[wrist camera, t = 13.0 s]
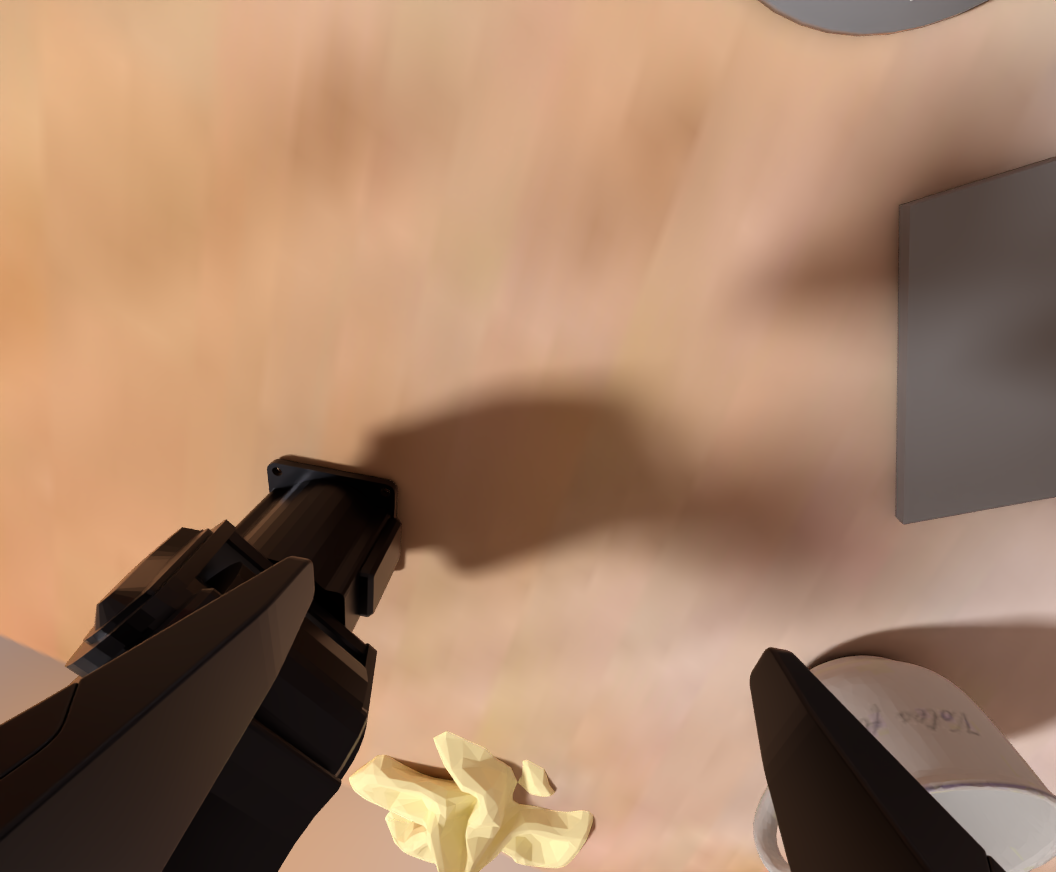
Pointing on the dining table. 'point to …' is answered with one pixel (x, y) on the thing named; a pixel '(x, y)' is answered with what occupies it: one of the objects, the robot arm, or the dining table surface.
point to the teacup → (939, 759)
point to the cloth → (471, 810)
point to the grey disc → (868, 14)
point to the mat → (977, 346)
